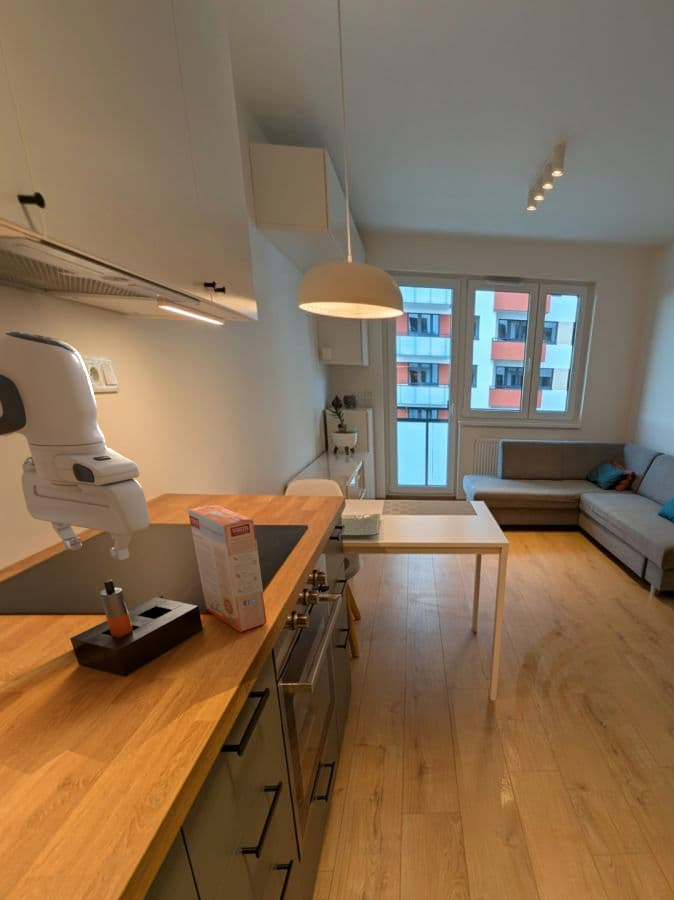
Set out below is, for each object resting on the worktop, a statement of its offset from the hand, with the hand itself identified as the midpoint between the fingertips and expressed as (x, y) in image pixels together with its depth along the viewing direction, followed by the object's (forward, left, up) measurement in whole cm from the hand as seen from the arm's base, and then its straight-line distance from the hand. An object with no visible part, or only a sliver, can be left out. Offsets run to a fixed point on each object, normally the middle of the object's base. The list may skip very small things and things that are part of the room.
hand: (97, 553), depth 78 cm
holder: (0, +4, -18) cm, 19 cm away
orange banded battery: (0, 0, -18) cm, 18 cm away
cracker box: (+7, +19, -19) cm, 27 cm away
